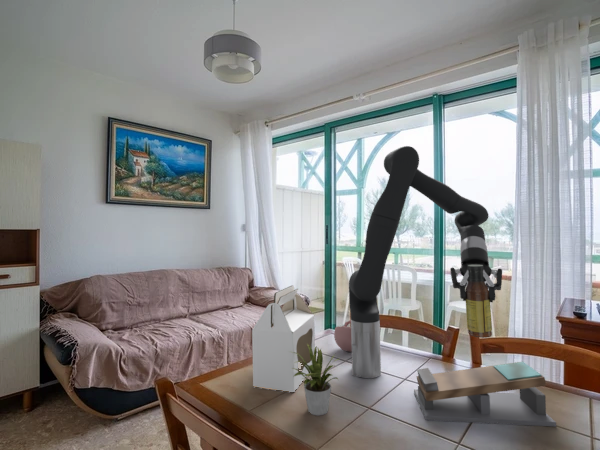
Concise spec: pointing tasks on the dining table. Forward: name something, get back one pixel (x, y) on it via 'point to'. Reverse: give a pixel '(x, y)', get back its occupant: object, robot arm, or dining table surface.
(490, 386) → the seesaw plank
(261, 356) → the gable box
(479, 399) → the seesaw stand
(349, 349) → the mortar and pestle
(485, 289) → the sauce bottle
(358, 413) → the dining table surface
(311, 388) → the house plant
